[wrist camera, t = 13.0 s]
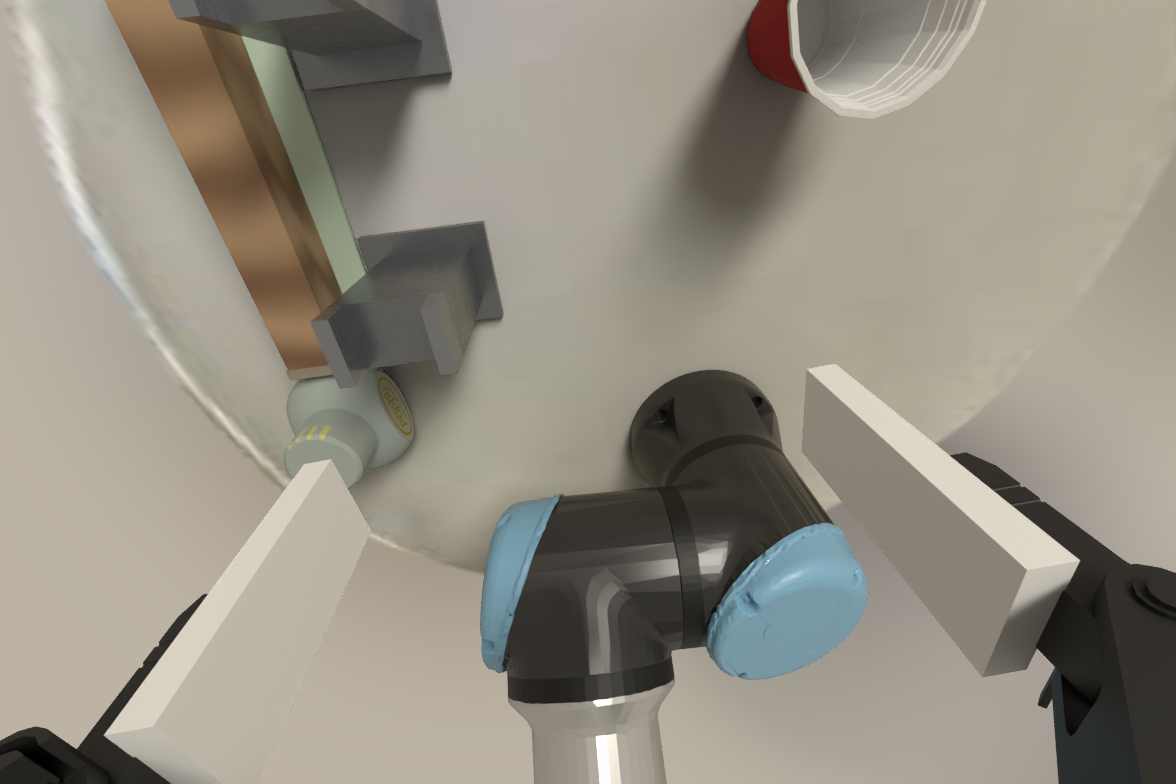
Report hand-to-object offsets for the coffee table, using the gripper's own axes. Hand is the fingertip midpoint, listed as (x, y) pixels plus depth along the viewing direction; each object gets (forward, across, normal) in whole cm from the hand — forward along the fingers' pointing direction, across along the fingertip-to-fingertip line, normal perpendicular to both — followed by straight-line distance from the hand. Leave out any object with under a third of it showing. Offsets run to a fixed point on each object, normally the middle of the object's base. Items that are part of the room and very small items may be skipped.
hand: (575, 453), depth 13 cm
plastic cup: (+30, -19, -11) cm, 37 cm away
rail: (+29, +20, -9) cm, 37 cm away
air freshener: (+30, +21, +11) cm, 39 cm away
